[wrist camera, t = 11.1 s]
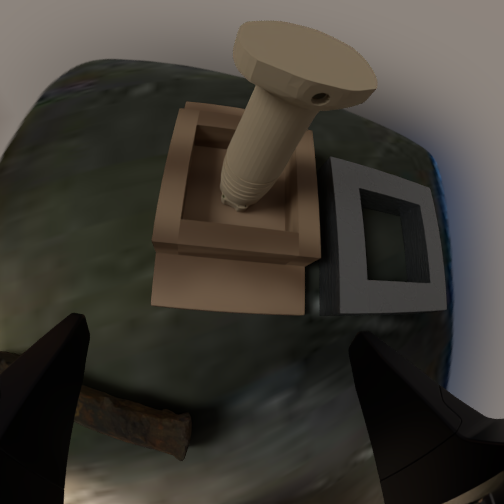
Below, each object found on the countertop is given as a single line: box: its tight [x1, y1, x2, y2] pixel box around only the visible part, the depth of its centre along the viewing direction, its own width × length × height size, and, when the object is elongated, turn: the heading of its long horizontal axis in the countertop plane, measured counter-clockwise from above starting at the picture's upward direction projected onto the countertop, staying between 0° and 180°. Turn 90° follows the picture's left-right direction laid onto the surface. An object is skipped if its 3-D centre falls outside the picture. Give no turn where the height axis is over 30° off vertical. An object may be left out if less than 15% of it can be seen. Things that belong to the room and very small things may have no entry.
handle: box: [220, 21, 377, 212], centre depth 16 cm, size 5×6×15 cm
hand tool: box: [0, 351, 192, 461], centre depth 15 cm, size 19×4×5 cm, turn 75°
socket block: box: [316, 157, 447, 316], centre depth 25 cm, size 14×14×4 cm
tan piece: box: [151, 102, 321, 315], centre depth 22 cm, size 20×12×4 cm, turn 178°
